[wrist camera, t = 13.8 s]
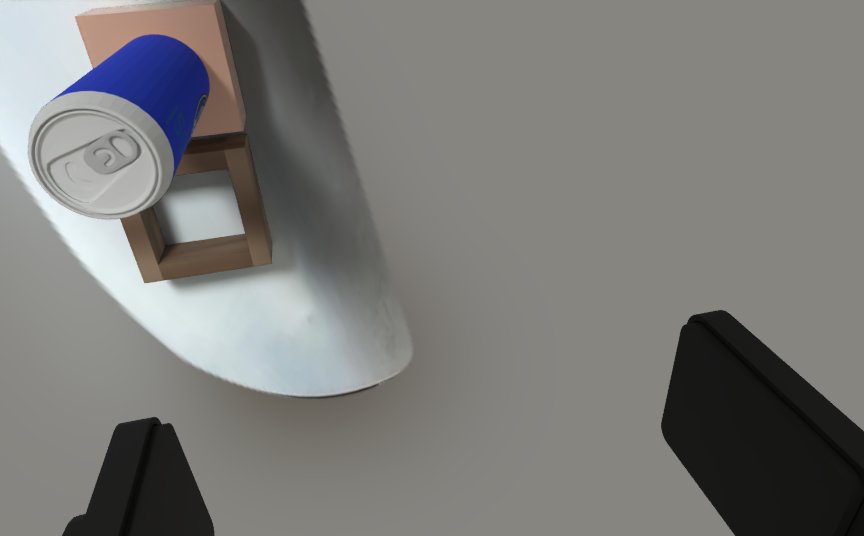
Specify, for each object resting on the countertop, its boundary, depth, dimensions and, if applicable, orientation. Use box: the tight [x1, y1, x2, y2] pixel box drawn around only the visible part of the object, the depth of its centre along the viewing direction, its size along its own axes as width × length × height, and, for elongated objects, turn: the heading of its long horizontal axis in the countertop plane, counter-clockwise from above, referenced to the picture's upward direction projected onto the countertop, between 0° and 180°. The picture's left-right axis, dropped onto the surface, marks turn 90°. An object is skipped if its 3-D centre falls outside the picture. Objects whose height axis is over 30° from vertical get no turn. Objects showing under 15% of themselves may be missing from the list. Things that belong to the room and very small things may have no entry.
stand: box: [75, 0, 246, 137], centre depth 36 cm, size 8×8×4 cm
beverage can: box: [28, 34, 210, 219], centre depth 28 cm, size 5×5×15 cm
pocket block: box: [120, 134, 272, 283], centre depth 41 cm, size 9×9×3 cm
